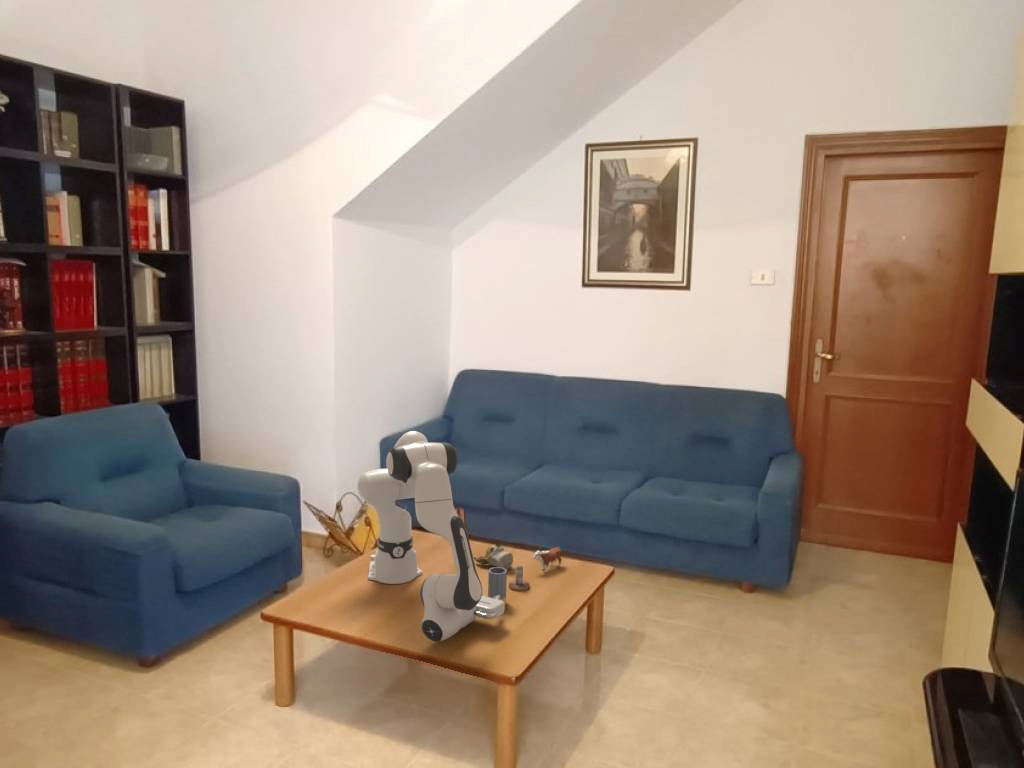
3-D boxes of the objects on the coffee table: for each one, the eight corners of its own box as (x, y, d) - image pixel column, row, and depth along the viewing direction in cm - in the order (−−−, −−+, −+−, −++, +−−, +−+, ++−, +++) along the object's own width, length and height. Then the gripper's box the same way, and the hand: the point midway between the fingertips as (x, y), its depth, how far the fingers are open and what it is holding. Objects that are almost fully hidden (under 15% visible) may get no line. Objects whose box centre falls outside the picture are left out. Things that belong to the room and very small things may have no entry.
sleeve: (485, 600, 252) (486, 568, 250) (503, 598, 254) (503, 566, 252) (490, 607, 246) (491, 574, 245) (508, 605, 248) (509, 572, 247)
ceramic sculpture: (499, 551, 271) (471, 542, 282) (500, 575, 272) (472, 565, 283) (521, 545, 278) (493, 536, 289) (521, 568, 279) (493, 559, 290)
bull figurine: (530, 572, 276) (530, 550, 275) (556, 563, 285) (557, 542, 284) (538, 576, 273) (539, 554, 271) (565, 566, 282) (565, 545, 280)
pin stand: (506, 583, 265) (506, 562, 264) (525, 581, 267) (525, 560, 266) (512, 591, 259) (513, 570, 257) (532, 589, 261) (532, 568, 260)
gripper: (491, 608, 225) (514, 591, 237) (433, 592, 235) (458, 577, 247) (491, 628, 226) (513, 610, 238) (433, 612, 236) (458, 596, 248)
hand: (485, 593), depth 243 cm, fingers open, 8 cm apart
